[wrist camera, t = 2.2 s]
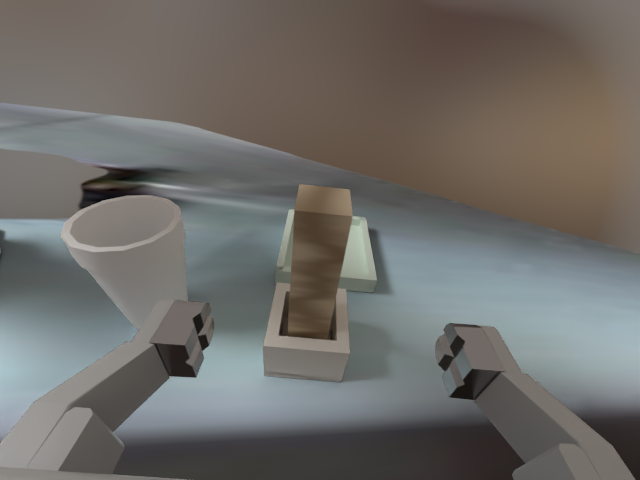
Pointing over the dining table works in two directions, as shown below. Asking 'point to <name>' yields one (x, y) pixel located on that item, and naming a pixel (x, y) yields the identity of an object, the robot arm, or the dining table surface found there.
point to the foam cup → (131, 251)
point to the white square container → (305, 343)
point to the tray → (355, 265)
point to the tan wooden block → (317, 258)
